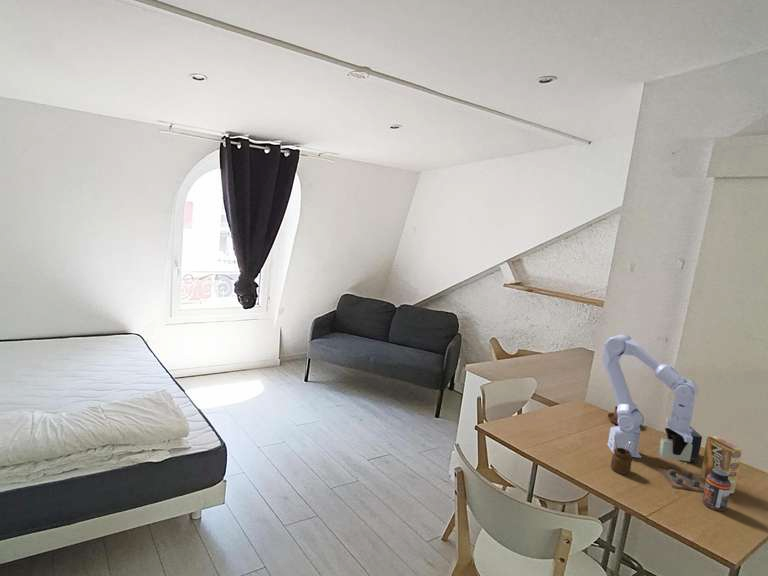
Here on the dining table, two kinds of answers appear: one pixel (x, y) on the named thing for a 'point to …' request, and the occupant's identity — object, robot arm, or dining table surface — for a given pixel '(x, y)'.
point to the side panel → (683, 480)
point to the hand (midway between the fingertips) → (674, 452)
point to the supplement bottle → (717, 490)
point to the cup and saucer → (613, 416)
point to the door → (667, 450)
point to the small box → (695, 446)
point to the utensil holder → (621, 460)
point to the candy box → (721, 459)
